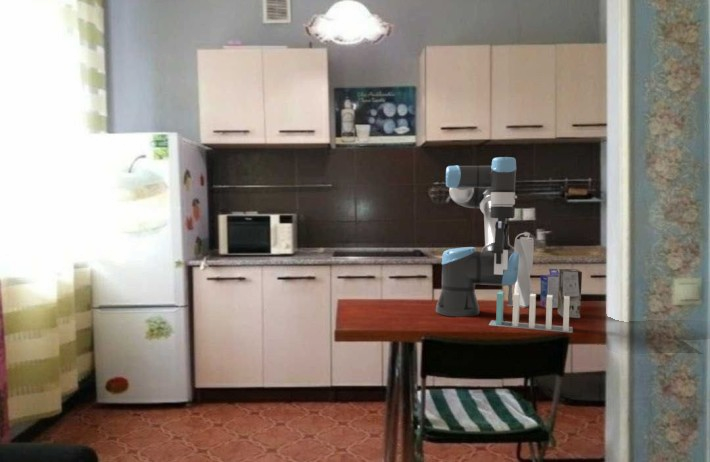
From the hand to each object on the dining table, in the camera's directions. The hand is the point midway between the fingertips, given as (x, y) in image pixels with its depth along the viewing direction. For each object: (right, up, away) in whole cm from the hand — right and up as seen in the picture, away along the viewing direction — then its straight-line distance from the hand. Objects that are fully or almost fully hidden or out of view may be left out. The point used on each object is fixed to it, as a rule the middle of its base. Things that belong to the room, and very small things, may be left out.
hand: (500, 271), depth 177 cm
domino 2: (+9, -17, -3) cm, 19 cm away
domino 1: (+4, -17, -1) cm, 17 cm away
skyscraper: (+17, -16, +35) cm, 42 cm away
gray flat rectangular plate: (+9, -17, -3) cm, 20 cm away
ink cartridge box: (+29, -16, +33) cm, 47 cm away
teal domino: (0, -17, +1) cm, 17 cm away
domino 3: (+14, -17, -5) cm, 22 cm away
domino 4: (+18, -17, -6) cm, 26 cm away
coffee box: (+29, -17, +17) cm, 37 cm away
